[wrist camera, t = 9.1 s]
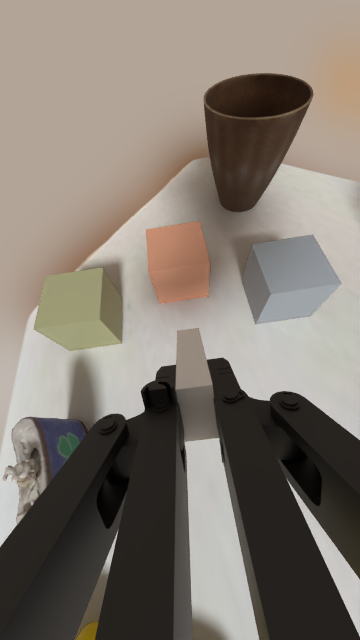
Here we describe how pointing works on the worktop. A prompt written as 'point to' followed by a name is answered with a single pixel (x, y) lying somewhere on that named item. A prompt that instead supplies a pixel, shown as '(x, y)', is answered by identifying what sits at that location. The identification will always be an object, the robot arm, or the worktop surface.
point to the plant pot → (251, 132)
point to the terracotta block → (178, 262)
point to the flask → (41, 454)
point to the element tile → (88, 632)
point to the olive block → (80, 310)
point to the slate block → (287, 279)
